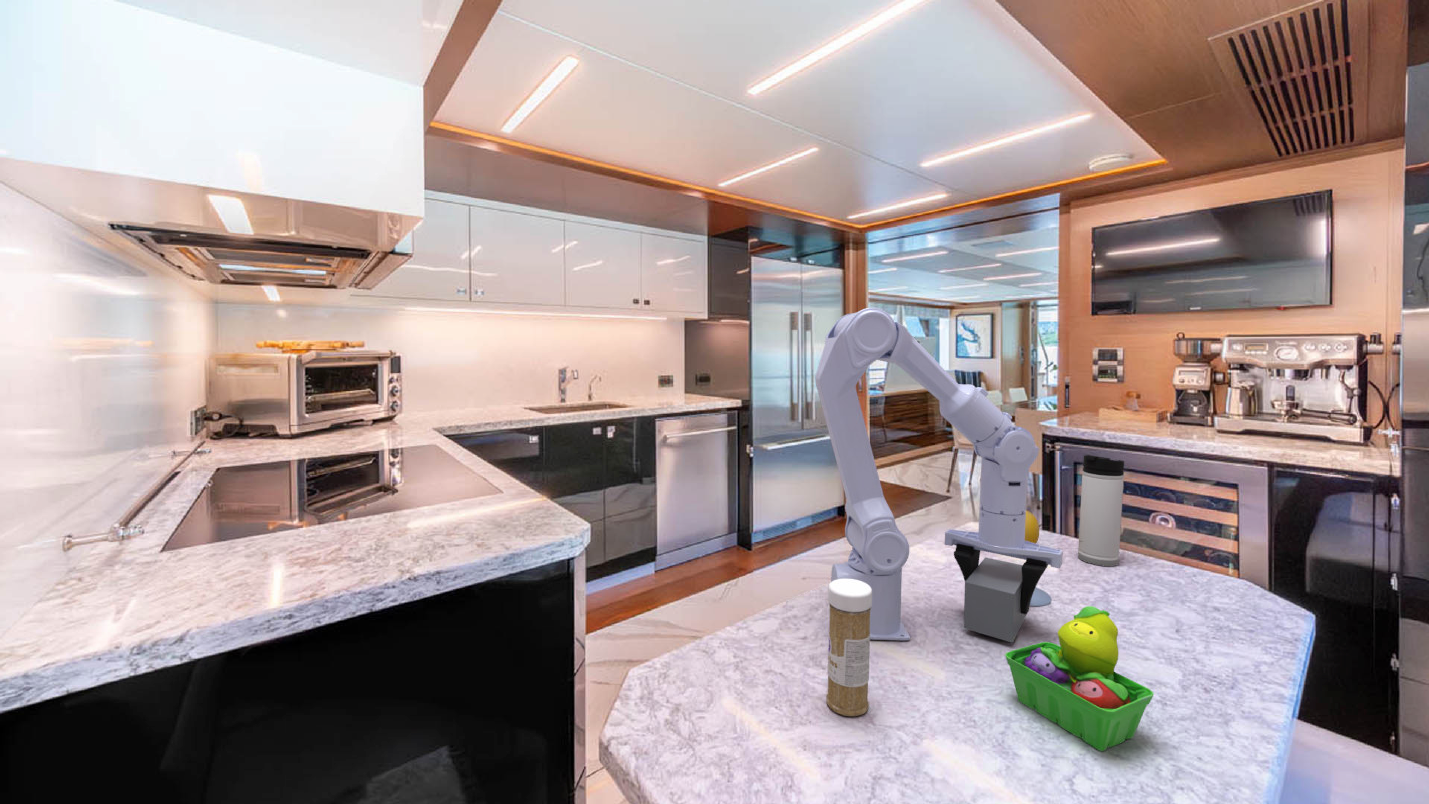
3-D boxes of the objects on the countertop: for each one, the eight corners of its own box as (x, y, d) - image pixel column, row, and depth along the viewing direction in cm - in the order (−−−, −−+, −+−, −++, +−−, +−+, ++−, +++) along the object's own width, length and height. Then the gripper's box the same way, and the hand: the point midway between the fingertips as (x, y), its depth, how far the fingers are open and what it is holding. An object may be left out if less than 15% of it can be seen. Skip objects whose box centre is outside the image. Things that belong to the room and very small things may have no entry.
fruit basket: (998, 697, 62) (1003, 599, 61) (1051, 678, 65) (1056, 585, 64) (1106, 765, 51) (1113, 648, 50) (1162, 739, 55) (1169, 629, 54)
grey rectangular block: (1012, 642, 72) (1014, 594, 71) (963, 628, 75) (964, 582, 75) (1028, 610, 80) (1030, 566, 79) (984, 599, 84) (985, 557, 83)
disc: (1003, 605, 84) (1003, 604, 84) (977, 582, 93) (977, 580, 93) (1063, 607, 84) (1063, 605, 84) (1032, 583, 93) (1032, 582, 93)
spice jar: (821, 694, 62) (823, 577, 61) (860, 691, 62) (862, 576, 61) (833, 720, 57) (836, 595, 56) (876, 717, 58) (879, 593, 57)
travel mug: (1068, 556, 105) (1073, 453, 104) (1094, 553, 107) (1100, 451, 106) (1100, 568, 99) (1106, 458, 98) (1126, 564, 101) (1133, 456, 100)
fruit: (1044, 558, 104) (1046, 517, 104) (997, 554, 107) (998, 513, 106) (1033, 543, 113) (1034, 505, 112) (989, 539, 115) (990, 502, 114)
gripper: (1067, 512, 75) (1062, 609, 76) (956, 495, 84) (953, 582, 85) (1059, 524, 70) (1054, 628, 71) (941, 505, 79) (938, 597, 80)
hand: (998, 604), depth 78 cm, fingers closed on grey rectangular block, 6 cm apart
